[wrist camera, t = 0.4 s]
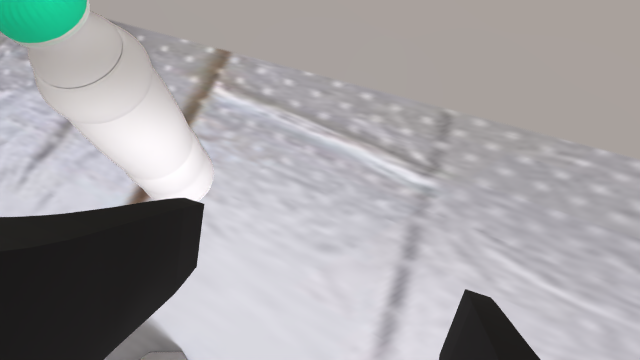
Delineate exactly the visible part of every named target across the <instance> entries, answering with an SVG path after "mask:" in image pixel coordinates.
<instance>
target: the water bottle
mask: <svg viewBox="0 0 640 360" xmlns="http://www.w3.org/2000/svg"><path fill="white" fill-rule="evenodd" d="M0 31H1V32H2V33H3V34H5V35H6V36H8V37H9V38H11V39H12V40H13V41H14V42H16V43H18V44H19V45H22V46H25V47H28V57H29V61H30V64H31V66H32V68H33V72H34V77H35V81H36V85H37V87H38V90H39V92H40V94H41V96H42V97H43V99H44V100H45V102H46V103H47V104H48V105H49V106H50V107H51V108H52V109H53V110H54V111H56V112H57V113H58V114H60V115H62V116H63V117H65V118H67V119H68V120H69V121H70V122H71V123H72V124H73V125H74V127H75V128H76V129H77V130H78V131H79V132H80V133H81V134H82V135H83V136H84V137H85V138H86V139H87V140H88V141H89V142H90V143H91V144H93V145H94V146H95V147H96V148H97V149H98V150H99V151H100V152H101V153H103V154H104V155H105V156H106V157H107V158H108V159H110V160H111V161H112V162H113V163H115V164H116V165H117V166H119V167H120V168H121V169H123V170H124V171H125V172H126V174H127V175H128V176H129V177H130V179H131V180H133V181H134V182H135V183H136V184H137V185H139V186H140V187H141V188H143V189H144V191H145V192H146V193H147V194H148V195H149V196H150V197H151V198H152V199H153V200H154V201H156V200H163V199H171V198H187V199H190V200H193V201H199V200H200V199H201V198H203V197H204V196H205V195H206V193H207V192H208V191H209V189H210V187H211V185H212V182H213V179H214V167H213V164H212V161H211V159H210V157H209V156H208V154H207V153H206V151H205V150H204V148H203V147H202V146H201V144H200V142H199V140H198V138H197V136H196V134H195V133H194V132H193V130H192V129H191V128H190V127H189V126H188V124H187V122H186V119H185V117H184V115H183V113H182V112H181V110H180V108H179V106H178V104H177V103H176V101H175V99H174V97H173V96H172V94H171V93H170V91H169V89H168V88H167V86H166V85H165V83H164V82H163V80H162V79H161V77H160V76H159V74H158V73H157V72H156V70H155V69H154V68H153V67H152V65H151V62H150V59H149V56H148V54H147V52H146V50H145V49H144V47H143V46H142V44H141V43H140V42H139V41H138V40H137V39H136V38H135V37H134V36H133V35H131V34H130V33H129V32H127V31H126V30H124V29H122V28H120V27H119V26H117V25H115V24H113V23H111V22H110V21H108V20H107V19H106V18H104V17H102V16H101V15H99V14H96V13H94V12H91V11H90V2H89V0H0Z"/></svg>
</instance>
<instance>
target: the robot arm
mask: <svg viewBox="0 0 640 360" xmlns="http://www.w3.org/2000/svg"><path fill="white" fill-rule="evenodd" d="M203 210H204V204H203V203H200V202H197V201H193V200H190V199H187V198H171V199H163V200H156V201H149V202H143V203H137V204H131V205H124V206H118V207H112V208H104V209H97V210H89V211H82V212H74V213H65V214H55V215H42V216H26V217H0V360H104V359H105V358H106V357H107V356H108V355H109V354H110V353H111V352H112V351H113V350H114V349H115V348H116V347H117V346H118V345H119V344H120V343H122V342H123V341H124V340H125V339H126V338H127V337H128V336H129V335H130V334H131V333H133V332H134V331H135V330H136V329H137V328H138V327H139V326H140V325H141V324H142V323H143V322H145V321H146V320H147V319H148V318H149V317H150V316H151V315H152V314H153V313H154V312H155V311H157V310H158V309H159V308H160V307H161V306H162V305H163V304H164V303H165V302H166V301H167V300H168V299H169V298H170V297H171V296H173V295H174V294H175V293H176V291H177V290H178V289H179V288H180V287H181V285H182V284H183V283H184V282H185V281H186V279H187V278H188V277H189V276H190V274H191V273H192V272H193V271H194V269H195V268H196V267H197V258H198V250H199V242H200V234H201V226H202V218H203ZM439 360H540V358H539V357H538V356H537V355H536V354H535V352H534V351H533V350H532V349H531V347H530V346H529V345H528V344H527V342H526V341H525V340H524V339H523V337H522V336H521V335H520V333H519V332H518V331H517V330H516V328H515V327H514V326H513V324H512V323H511V322H510V321H509V319H508V318H507V317H506V315H505V314H504V313H503V312H502V310H501V309H500V308H499V306H498V305H497V304H496V303H495V302H494V301H493V299H492V298H491V297H487V296H484V295H481V294H478V293H475V292H472V291H469V290H466V289H465V291H464V294H463V296H462V299H461V301H460V304H459V306H458V309H457V312H456V314H455V317H454V319H453V322H452V324H451V327H450V329H449V332H448V335H447V337H446V340H445V342H444V345H443V347H442V350H441V352H440V357H439Z"/></svg>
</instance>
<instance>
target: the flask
mask: <svg viewBox="0 0 640 360" xmlns="http://www.w3.org/2000/svg"><path fill="white" fill-rule="evenodd" d="M140 360H187V359H186V357H185V355H184V354H183V352H149V353H148V354H147V355H145V356H144V357H143V358H141V359H140Z"/></svg>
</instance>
